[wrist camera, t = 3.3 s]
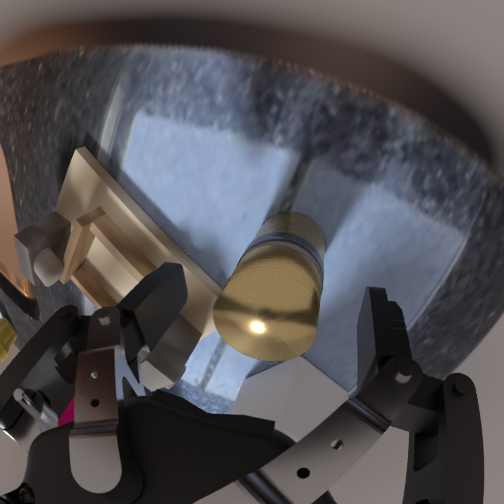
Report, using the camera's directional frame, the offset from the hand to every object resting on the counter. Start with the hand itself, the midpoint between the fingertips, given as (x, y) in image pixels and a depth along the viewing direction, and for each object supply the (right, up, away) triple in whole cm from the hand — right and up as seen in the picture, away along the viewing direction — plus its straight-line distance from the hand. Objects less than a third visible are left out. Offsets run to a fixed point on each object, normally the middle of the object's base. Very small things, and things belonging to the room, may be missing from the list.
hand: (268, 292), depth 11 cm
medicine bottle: (+3, -10, +11) cm, 15 cm away
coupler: (+2, +2, +5) cm, 5 cm away
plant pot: (-67, -19, +38) cm, 79 cm away
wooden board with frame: (-11, 0, +9) cm, 15 cm away
